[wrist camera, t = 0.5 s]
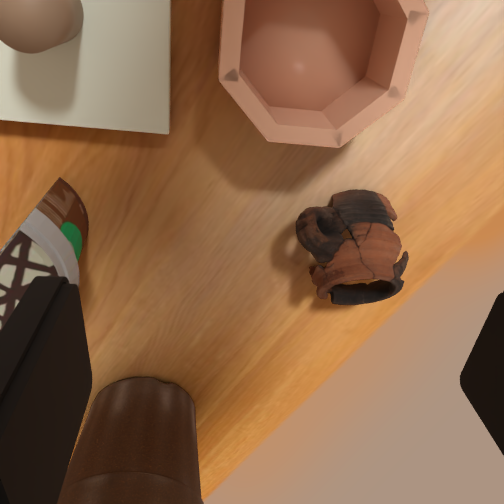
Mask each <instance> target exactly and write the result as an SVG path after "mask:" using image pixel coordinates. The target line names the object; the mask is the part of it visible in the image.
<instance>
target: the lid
mask: <svg viewBox="0 0 504 504" xmlns="http://www.w3.org/2000/svg"><path fill="white" fill-rule="evenodd" d="M170 72H171V0H0V120H9V121H20V122H31V123H43V124H54V125H66V126H77V127H89V128H100V129H112V130H123V131H135V132H146V133H158V134H169V131H170Z"/></svg>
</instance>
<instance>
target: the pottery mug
mask: <svg viewBox="0 0 504 504" xmlns="http://www.w3.org/2000/svg"><path fill="white" fill-rule="evenodd" d="M332 198H333V208H331V207H326V206H325V207H309V208H307V209H305V211H303V212H302V213H301V214H300V215H299V217H298V220H297V221H296V234H297V237H298V240H299V242H300V243H301V245H302V246H303V247H304V248H305V249H306V250H308V251H310V252H311V254H312V255H313V257H314V258H315V260H316V261H317V262H319V263H325V262H327V265H326V267H325V268H324V267H322V266H321V265H318V266H317V267H315V266H311V267H309V269H310V271H309V273H310V275H311V277H312V282H313V284H314V285H316V286H317V290H316V292H317V295H318V297H319V298H320V299H327V297H328V294H327V292H328V293H330V294H331V302H332V303H333V304H338V305H359V304H364V303H373V302H377V301H381V300H384V299H387V298H390V297H392V296H394V295H396V294H397V293H398V292H399V291H400V290H401V289H402V287H403V284H404V281H403V280H401V279H400V276H401V275H402V274H403V272H404V270H405V268H406V265H407V262H408V252H407V251H405V252H404V253H403V255H402V258H401V259H400V260H399V261H398V262H397V263H395V262H396V260H397V257H398V256H399V253H400V250H401V247H402V245H401V242H400V238H399V236H398V235H397V234H395V233H394V232H393V230H394V227H393V224H392V222H391V220H390V219H392V220H393V221H395V220H396V219H397V215H396V213H395V211H394V209H393V208H392V206H391V205H390V202H389V200H388V199H387V198H386V197H384V196H383V195H381V194H379V193H376V192H373V191H367V190H348V191H345V192H340V193H337V194H334V195H333V196H332ZM345 229H348V231H349V232H350V234H351V235H352V238H347V239H344V240H343V236H342V235H341V233H342V232H343V231H344V230H345ZM394 263H395V264H394ZM362 279H378V281H374V282H371V283H370V284H368V285H367V284H366V283H358V284H352V285H344V284H341V283H344V282H349V281H354V280H362Z"/></svg>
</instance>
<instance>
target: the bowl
mask: <svg viewBox="0 0 504 504" xmlns="http://www.w3.org/2000/svg"><path fill="white" fill-rule="evenodd" d="M428 12H429V11H428V8H427V6H426V4H425V2H424V0H222V12H221V28H220V43H219V58H218V77H219V82H220V83H221V84H222V85H223V86H224V88H225V89H226V90H227V91H228V93H229V94H230V95H231V96H232V98H233V99H234V100H235V101H236V103H237V104H238V105H239V106H240V108H241V109H242V110H243V111H244V113H245V114H246V115H247V116H248V118H249V119H250V120H251V121H252V123H253V124H254V125H255V126H256V128H257V129H258V130H259V131H260V133H261V134H262V135H263V136H264V138H265V139H266V140H267V141H268V142H278V143H289V144H301V145H312V146H323V147H335V148H339V147H342V146H343V145H344V144H346V143H347V142H348V141H350V140H351V139H352V138H354V137H355V136H356V135H358V134H359V133H360V132H362V131H363V130H364V129H366V128H367V127H368V126H370V125H371V124H372V123H374V122H375V121H376V120H378V119H379V118H380V117H382V116H383V115H384V114H386V113H387V112H388V111H390V110H391V109H392V108H394V107H395V106H396V105H398V104H399V103H400V102H402V101H403V99H404V98H405V95H406V91H407V88H408V84H409V81H410V77H411V74H412V71H413V67H414V64H415V60H416V57H417V53H418V50H419V46H420V43H421V39H422V36H423V32H424V29H425V26H426V22H427V19H428V15H429V13H428Z"/></svg>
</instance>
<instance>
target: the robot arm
mask: <svg viewBox="0 0 504 504" xmlns="http://www.w3.org/2000/svg"><path fill="white" fill-rule="evenodd" d="M460 385H461V388H462V390H463V392H464V393H465V395H466V396H467V398H468V400H469V401H470V403H471V404H472V406H473V408H474V409H475V411H476V412H477V414H478V416H479V417H480V419H481V420H482V422H483V423H484V425H485V427H486V428H487V430H488V431H489V433H490V435H491V436H492V438H493V439H494V441H495V442H496V444H497V446H498V447H499V449H500V450H501V452H502V454H503V455H504V292H503V293H500V294H499V295H498V296H497V298H496V300H495V302H494V305H493V307H492V309H491V311H490V313H489V315H488V318H487V319H486V321H485V323H484V326H483V328H482V330H481V332H480V334H479V336H478V338H477V340H476V342H475V345H474V347H473V349H472V351H471V353H470V355H469V357H468V360H467V362H466V364H465V366H464V368H463V370H462V372H461V375H460ZM91 388H92V371H91V365H90V358H89V352H88V345H87V339H86V333H85V326H84V320H83V313H82V307H81V301H80V294H79V289H78V286H77V284H70V283H69V280H68V278H67V277H65V276H36V277H35V278H34V279H33V280H32V282H31V283H30V285H29V287H28V288H27V290H26V291H25V293H24V295H23V296H22V298H21V299H20V301H19V303H18V304H17V306H16V307H15V309H14V311H13V312H12V314H11V315H10V317H9V319H8V320H7V322H6V324H5V325H4V327H3V328H2V330H1V332H0V504H57V502H58V498H59V495H60V492H61V489H62V485H63V482H64V479H65V475H66V472H67V469H68V465H69V462H70V459H71V456H72V452H73V449H74V446H75V442H76V439H77V436H78V432H79V429H80V426H81V423H82V419H83V416H84V413H85V409H86V406H87V403H88V399H89V396H90V393H91Z"/></svg>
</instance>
